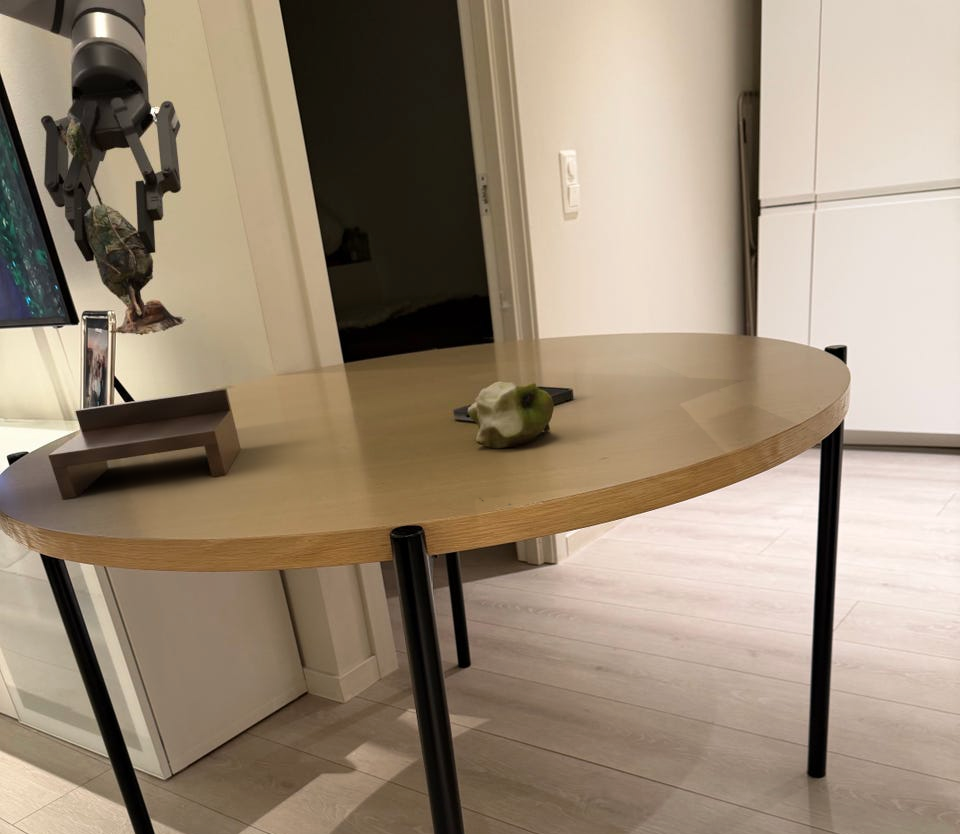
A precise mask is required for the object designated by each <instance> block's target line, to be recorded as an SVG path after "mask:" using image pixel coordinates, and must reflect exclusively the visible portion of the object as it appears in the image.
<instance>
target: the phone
mask: <svg viewBox="0 0 960 834" xmlns="http://www.w3.org/2000/svg"><path fill="white" fill-rule="evenodd" d="M536 387H537V388H538V389H540V390H544V391H546V392H547V393H548V394H549V395H550V396H551V398H552V401H553V404H554V406H555V405H557V404H560V403H564V402H567V401H566V400H568V401H570V400H569V399H571V400H573V399H574V398H575V397H574V388H571V387H570V388H569V387H554V386H536ZM572 398H573V399H572ZM472 404H473V403H471V404H467V405H464V406H461V407H457V408H454V409H453V410H452V412H453V418H454V420H455V421H462V422H470V423H476V422H475V421H474V420H471V418H470V415H469V413H468V408H469V407H470V406H471V405H472Z"/></svg>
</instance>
